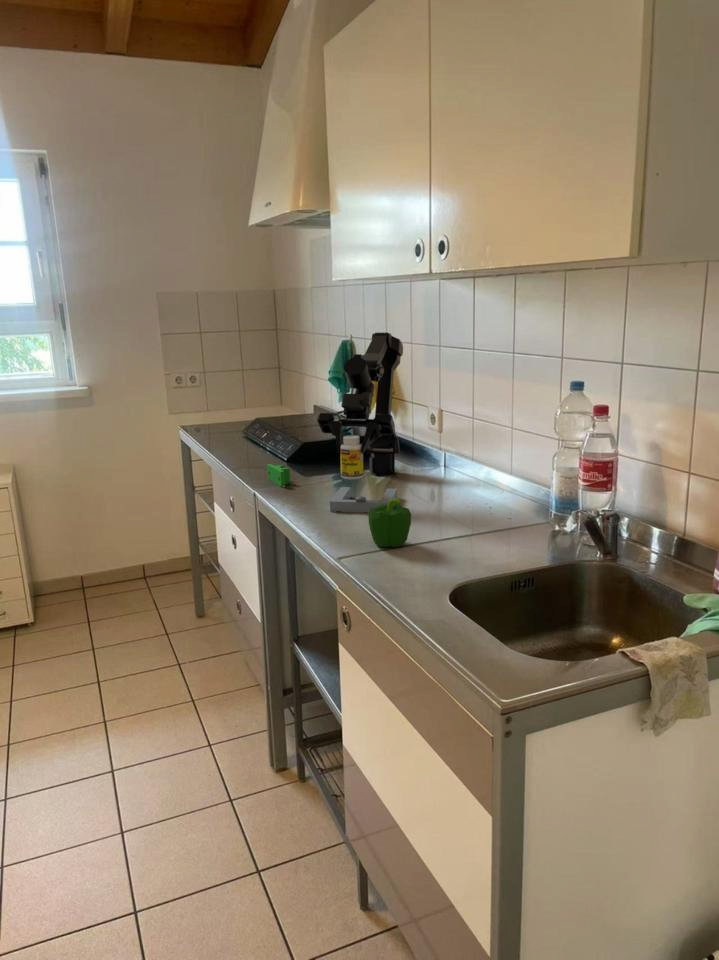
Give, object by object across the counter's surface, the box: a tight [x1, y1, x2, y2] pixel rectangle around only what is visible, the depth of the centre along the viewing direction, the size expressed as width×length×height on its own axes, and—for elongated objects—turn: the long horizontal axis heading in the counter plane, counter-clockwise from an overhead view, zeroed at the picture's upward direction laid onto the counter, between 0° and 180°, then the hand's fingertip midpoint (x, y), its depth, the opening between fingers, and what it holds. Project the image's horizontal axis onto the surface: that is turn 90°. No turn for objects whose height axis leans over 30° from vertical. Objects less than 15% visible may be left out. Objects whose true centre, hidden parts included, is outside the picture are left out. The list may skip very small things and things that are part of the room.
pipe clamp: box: [266, 463, 291, 488], centre depth 203 cm, size 11×4×5 cm, turn 26°
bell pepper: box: [367, 498, 412, 548], centre depth 147 cm, size 8×8×10 cm
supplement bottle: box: [339, 434, 364, 480], centre depth 178 cm, size 6×6×10 cm
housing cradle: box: [329, 486, 398, 513], centre depth 178 cm, size 14×14×3 cm
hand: (350, 451), depth 176 cm, fingers closed on supplement bottle, 6 cm apart
